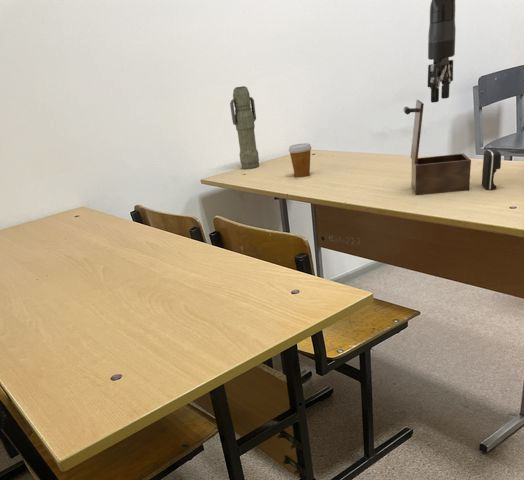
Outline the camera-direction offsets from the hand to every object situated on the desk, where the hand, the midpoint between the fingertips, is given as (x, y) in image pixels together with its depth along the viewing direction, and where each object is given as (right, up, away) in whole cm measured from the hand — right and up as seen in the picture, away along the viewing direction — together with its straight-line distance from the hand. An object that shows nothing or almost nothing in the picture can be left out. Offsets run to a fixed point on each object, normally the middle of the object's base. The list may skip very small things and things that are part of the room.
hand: (440, 100), depth 163 cm
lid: (-5, -7, +7) cm, 11 cm away
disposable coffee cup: (-38, -3, +61) cm, 72 cm away
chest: (+5, -23, +14) cm, 27 cm away
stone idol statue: (-60, +11, +92) cm, 111 cm away
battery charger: (+19, -25, +8) cm, 32 cm away
